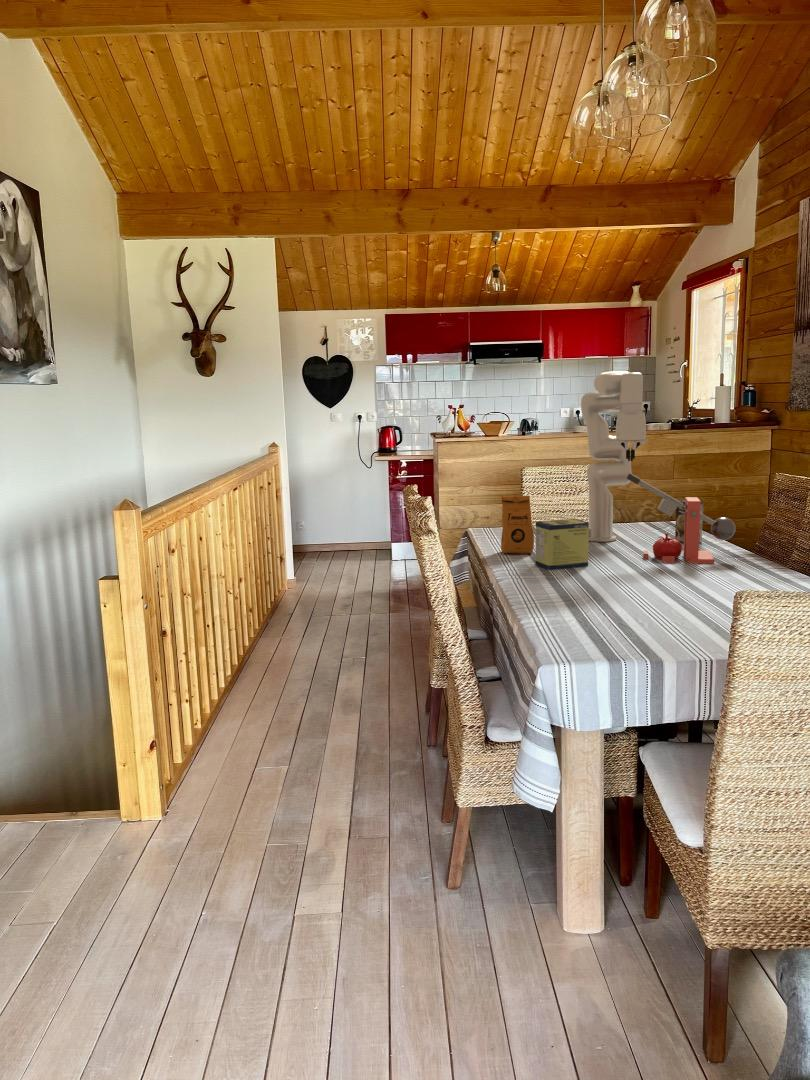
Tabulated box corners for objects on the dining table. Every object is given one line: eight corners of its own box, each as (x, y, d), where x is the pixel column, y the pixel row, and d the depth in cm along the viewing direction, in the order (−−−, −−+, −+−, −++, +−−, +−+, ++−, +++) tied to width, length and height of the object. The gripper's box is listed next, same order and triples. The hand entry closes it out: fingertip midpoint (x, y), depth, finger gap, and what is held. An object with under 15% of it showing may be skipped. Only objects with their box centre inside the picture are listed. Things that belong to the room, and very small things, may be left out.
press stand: (644, 562, 276) (645, 501, 273) (643, 553, 292) (644, 496, 288) (714, 563, 270) (716, 502, 267) (709, 554, 286) (711, 496, 282)
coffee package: (534, 555, 294) (534, 496, 290) (500, 555, 296) (500, 497, 292) (533, 550, 304) (533, 493, 300) (501, 550, 306) (500, 494, 302)
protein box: (589, 566, 273) (589, 521, 270) (548, 570, 268) (548, 525, 265) (573, 560, 282) (574, 518, 280) (534, 564, 278) (534, 521, 275)
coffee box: (674, 539, 317) (675, 500, 314) (687, 538, 319) (689, 499, 316) (688, 543, 308) (690, 502, 306) (702, 542, 310) (704, 501, 307)
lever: (620, 488, 278) (634, 466, 276) (620, 486, 286) (633, 464, 283) (726, 548, 272) (741, 526, 270) (723, 544, 280) (738, 522, 277)
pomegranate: (676, 562, 275) (677, 536, 273) (648, 559, 281) (648, 534, 279) (685, 557, 283) (686, 531, 281) (658, 554, 289) (658, 529, 287)
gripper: (609, 409, 274) (608, 462, 277) (653, 408, 271) (652, 461, 273) (609, 409, 282) (608, 460, 285) (653, 407, 278) (651, 460, 281)
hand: (630, 460), depth 279 cm, fingers closed
